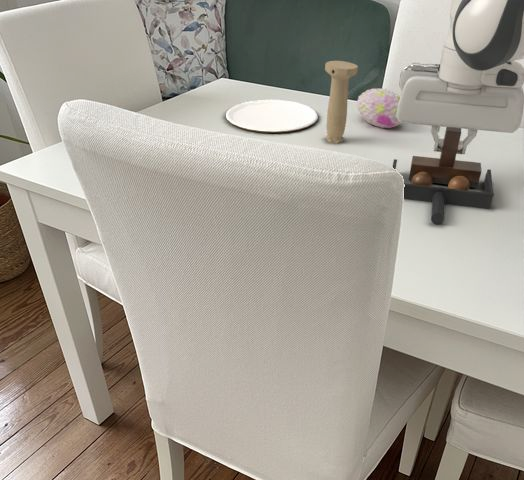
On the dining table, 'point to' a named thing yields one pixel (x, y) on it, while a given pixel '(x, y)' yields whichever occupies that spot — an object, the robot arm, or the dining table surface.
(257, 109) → the plate
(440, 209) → the dustpan
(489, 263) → the dining table surface
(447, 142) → the brush
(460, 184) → the crumb
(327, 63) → the handle
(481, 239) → the dining table surface
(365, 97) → the decorative item
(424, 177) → the crumb
